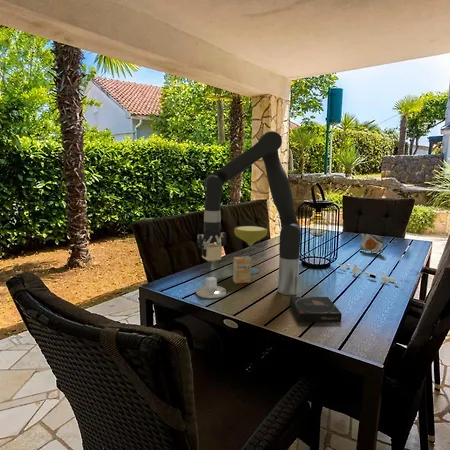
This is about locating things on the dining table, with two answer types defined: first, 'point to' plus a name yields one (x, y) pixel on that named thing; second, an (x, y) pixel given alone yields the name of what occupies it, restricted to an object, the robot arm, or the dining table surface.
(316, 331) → the dining table surface
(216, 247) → the collar
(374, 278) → the miniature set
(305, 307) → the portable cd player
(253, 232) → the cocktail glass
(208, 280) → the duct stub
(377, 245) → the meal
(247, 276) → the supplement box
